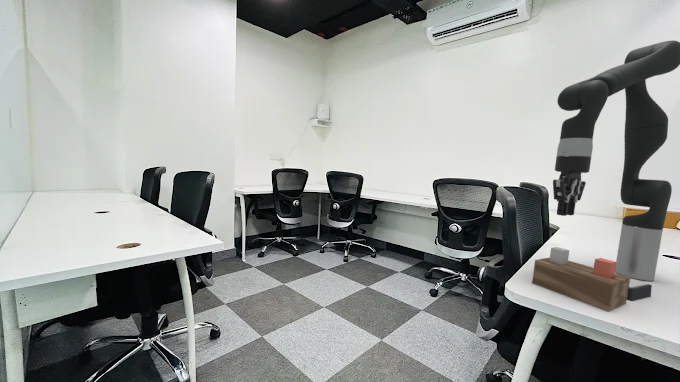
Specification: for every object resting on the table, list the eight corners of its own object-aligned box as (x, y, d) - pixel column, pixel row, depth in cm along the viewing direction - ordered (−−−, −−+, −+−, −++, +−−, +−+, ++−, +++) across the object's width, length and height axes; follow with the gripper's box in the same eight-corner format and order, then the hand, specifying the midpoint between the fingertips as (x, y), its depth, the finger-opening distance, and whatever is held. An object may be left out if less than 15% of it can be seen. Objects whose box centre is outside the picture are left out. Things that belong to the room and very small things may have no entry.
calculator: (587, 265, 90) (652, 282, 76) (586, 278, 90) (651, 297, 76) (567, 268, 85) (632, 286, 72) (566, 281, 86) (631, 302, 72)
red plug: (596, 282, 72) (600, 257, 72) (612, 288, 70) (616, 261, 69) (591, 284, 71) (594, 259, 70) (607, 289, 68) (611, 263, 68)
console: (551, 277, 85) (554, 256, 84) (626, 303, 70) (630, 277, 70) (532, 282, 80) (535, 260, 79) (608, 311, 65) (612, 283, 64)
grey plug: (553, 269, 81) (556, 246, 81) (566, 273, 78) (569, 250, 78) (547, 270, 80) (551, 247, 79) (560, 274, 77) (564, 251, 76)
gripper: (569, 157, 83) (561, 212, 84) (545, 153, 76) (537, 213, 78) (601, 157, 76) (592, 216, 78) (578, 153, 69) (568, 218, 71)
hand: (565, 214), depth 78 cm, fingers open, 3 cm apart
